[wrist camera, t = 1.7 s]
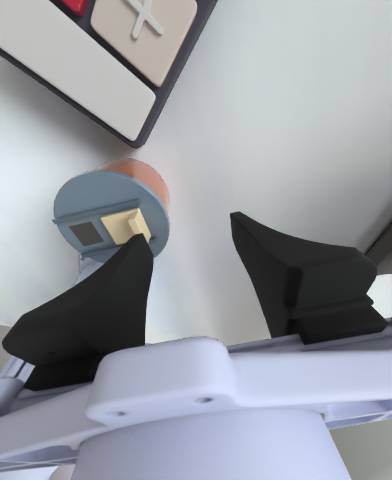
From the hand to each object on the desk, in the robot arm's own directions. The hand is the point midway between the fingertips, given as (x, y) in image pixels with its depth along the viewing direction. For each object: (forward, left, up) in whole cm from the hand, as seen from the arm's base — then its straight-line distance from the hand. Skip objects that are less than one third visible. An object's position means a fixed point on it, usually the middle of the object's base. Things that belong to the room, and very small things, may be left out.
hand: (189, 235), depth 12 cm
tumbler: (-3, +6, -10) cm, 12 cm away
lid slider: (-3, +5, -3) cm, 6 cm away
